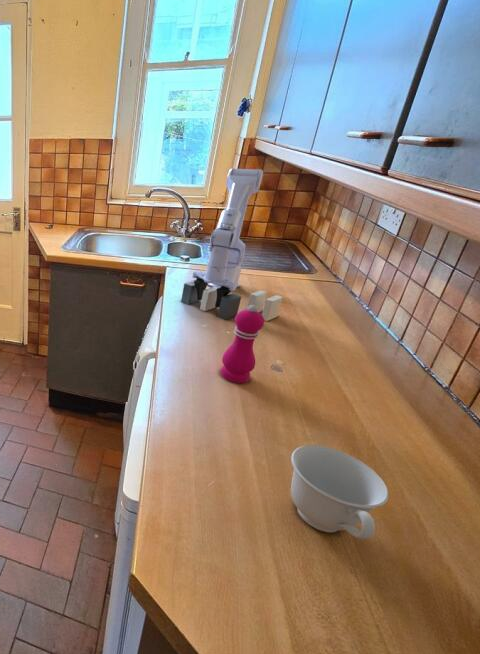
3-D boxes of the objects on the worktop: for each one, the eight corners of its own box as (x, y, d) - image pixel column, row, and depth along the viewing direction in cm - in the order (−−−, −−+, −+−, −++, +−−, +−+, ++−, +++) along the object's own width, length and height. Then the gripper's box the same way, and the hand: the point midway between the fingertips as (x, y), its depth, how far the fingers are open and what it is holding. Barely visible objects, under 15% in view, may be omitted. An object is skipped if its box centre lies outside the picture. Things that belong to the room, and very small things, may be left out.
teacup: (303, 563, 60) (325, 518, 56) (263, 482, 74) (278, 440, 69) (396, 577, 58) (426, 531, 54) (338, 491, 71) (358, 449, 67)
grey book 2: (228, 312, 136) (232, 292, 133) (236, 315, 134) (241, 296, 131) (217, 316, 133) (221, 296, 130) (225, 319, 131) (230, 300, 128)
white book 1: (255, 308, 138) (261, 289, 135) (261, 311, 136) (267, 291, 133) (245, 313, 135) (250, 293, 132) (251, 315, 134) (256, 295, 131)
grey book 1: (191, 297, 147) (195, 279, 144) (199, 300, 145) (202, 282, 142) (180, 301, 144) (184, 283, 141) (188, 304, 142) (191, 286, 139)
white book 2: (271, 314, 134) (276, 295, 131) (277, 316, 132) (283, 297, 129) (260, 318, 131) (266, 299, 128) (266, 321, 130) (272, 301, 127)
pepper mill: (253, 386, 99) (275, 313, 91) (220, 381, 101) (239, 309, 93) (247, 370, 105) (267, 300, 97) (216, 366, 107) (233, 297, 99)
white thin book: (210, 305, 141) (214, 286, 138) (215, 307, 140) (220, 288, 137) (199, 309, 138) (203, 290, 136) (204, 311, 137) (208, 292, 134)
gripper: (189, 261, 136) (182, 298, 142) (230, 274, 125) (221, 313, 131) (203, 258, 140) (195, 294, 145) (244, 270, 128) (234, 308, 134)
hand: (208, 303), depth 138 cm, fingers open, 6 cm apart
